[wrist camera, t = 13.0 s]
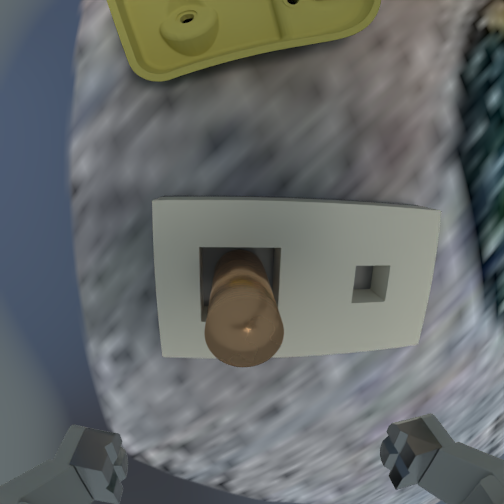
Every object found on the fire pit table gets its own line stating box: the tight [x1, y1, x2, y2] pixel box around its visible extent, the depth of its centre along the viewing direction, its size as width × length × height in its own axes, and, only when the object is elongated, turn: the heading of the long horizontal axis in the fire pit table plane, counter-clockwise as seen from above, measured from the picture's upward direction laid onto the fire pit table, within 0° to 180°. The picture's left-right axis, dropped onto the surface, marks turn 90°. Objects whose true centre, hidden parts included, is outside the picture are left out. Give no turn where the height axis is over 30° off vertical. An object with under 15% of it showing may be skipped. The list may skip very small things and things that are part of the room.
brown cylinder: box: [204, 250, 284, 367], centre depth 21 cm, size 4×4×10 cm
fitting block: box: [152, 196, 441, 358], centre depth 25 cm, size 22×12×4 cm, turn 89°
